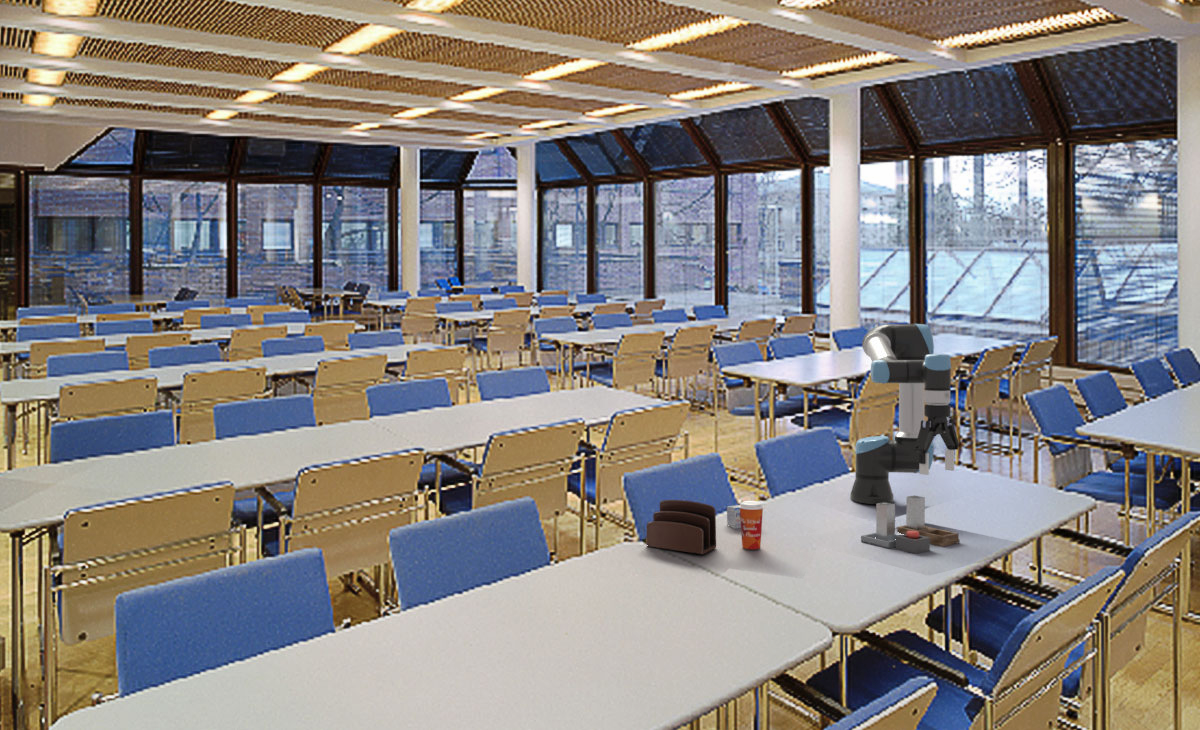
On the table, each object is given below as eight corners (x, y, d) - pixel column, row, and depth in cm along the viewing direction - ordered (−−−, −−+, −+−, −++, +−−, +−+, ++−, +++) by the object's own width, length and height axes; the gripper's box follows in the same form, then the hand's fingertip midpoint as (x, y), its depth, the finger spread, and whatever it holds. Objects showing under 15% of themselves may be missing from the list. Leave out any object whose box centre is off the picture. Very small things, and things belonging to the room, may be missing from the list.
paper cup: (736, 549, 267) (736, 504, 266) (741, 543, 274) (741, 499, 273) (761, 551, 264) (761, 506, 263) (766, 545, 271) (766, 501, 271)
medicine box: (734, 533, 287) (734, 508, 286) (726, 531, 291) (726, 505, 290) (753, 531, 290) (753, 505, 290) (745, 528, 294) (745, 503, 294)
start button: (904, 536, 265) (904, 531, 265) (911, 534, 267) (911, 530, 267) (914, 538, 262) (914, 533, 262) (921, 537, 264) (921, 532, 264)
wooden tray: (896, 536, 282) (896, 527, 282) (913, 532, 287) (913, 523, 287) (942, 546, 268) (942, 537, 268) (959, 542, 273) (959, 533, 273)
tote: (860, 541, 275) (860, 535, 275) (882, 537, 281) (882, 531, 281) (888, 548, 266) (888, 542, 266) (910, 543, 272) (910, 537, 272)
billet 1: (876, 541, 274) (876, 503, 273) (884, 539, 276) (884, 502, 276) (886, 543, 271) (886, 505, 270) (894, 541, 273) (895, 504, 272)
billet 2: (906, 533, 282) (906, 496, 281) (913, 531, 284) (914, 495, 283) (916, 535, 278) (917, 498, 278) (924, 533, 280) (924, 497, 280)
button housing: (895, 549, 265) (896, 536, 265) (910, 545, 269) (910, 533, 269) (915, 553, 260) (915, 540, 259) (929, 550, 263) (929, 537, 263)
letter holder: (660, 540, 280) (660, 497, 279) (716, 548, 269) (716, 503, 269) (645, 546, 271) (645, 502, 271) (703, 555, 261) (703, 509, 260)
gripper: (924, 406, 256) (923, 477, 256) (971, 402, 270) (970, 470, 271) (902, 405, 262) (902, 474, 263) (949, 401, 276) (949, 467, 277)
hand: (937, 472), depth 267 cm, fingers open, 13 cm apart
